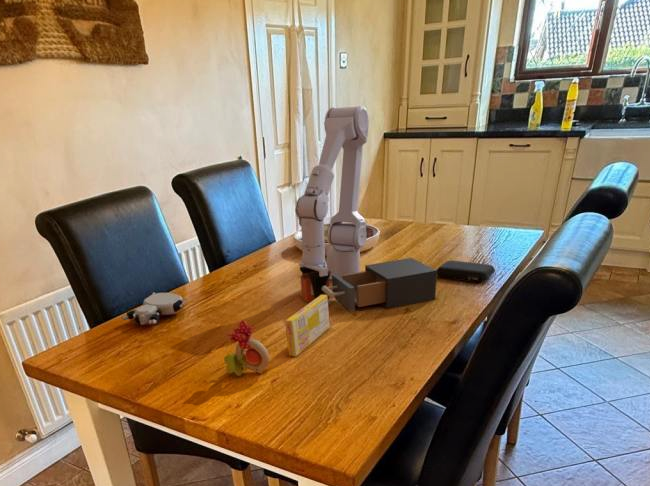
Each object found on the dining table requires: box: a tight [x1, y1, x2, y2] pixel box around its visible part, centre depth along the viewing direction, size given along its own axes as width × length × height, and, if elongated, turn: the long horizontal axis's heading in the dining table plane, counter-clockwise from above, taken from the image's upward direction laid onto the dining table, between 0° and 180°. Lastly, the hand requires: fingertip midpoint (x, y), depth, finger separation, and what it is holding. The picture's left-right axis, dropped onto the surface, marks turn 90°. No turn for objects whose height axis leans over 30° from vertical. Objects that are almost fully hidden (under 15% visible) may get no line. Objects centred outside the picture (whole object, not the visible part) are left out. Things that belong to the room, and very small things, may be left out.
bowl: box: [293, 222, 380, 257], centre depth 180 cm, size 30×30×8 cm
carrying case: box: [436, 260, 496, 283], centre depth 144 cm, size 11×3×15 cm
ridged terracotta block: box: [300, 272, 331, 303], centre depth 138 cm, size 7×5×7 cm
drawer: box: [322, 270, 386, 312], centre depth 131 cm, size 17×12×6 cm
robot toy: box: [120, 291, 190, 326], centre depth 134 cm, size 12×4×15 cm
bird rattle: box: [223, 319, 270, 377], centre depth 102 cm, size 6×11×9 cm
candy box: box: [284, 295, 331, 358], centre depth 113 cm, size 16×2×8 cm, turn 149°
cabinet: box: [364, 257, 438, 309], centre depth 134 cm, size 14×13×8 cm
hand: (315, 295), depth 139 cm, fingers closed on ridged terracotta block, 4 cm apart
